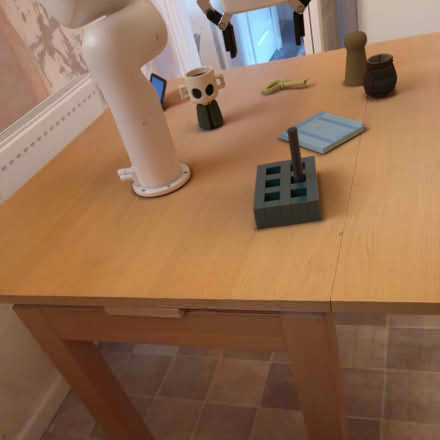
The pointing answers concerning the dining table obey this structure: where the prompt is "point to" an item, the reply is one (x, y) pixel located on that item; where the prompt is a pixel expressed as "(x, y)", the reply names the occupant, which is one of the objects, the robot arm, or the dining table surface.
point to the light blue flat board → (325, 131)
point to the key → (282, 85)
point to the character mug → (204, 94)
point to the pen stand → (286, 194)
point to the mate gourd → (379, 76)
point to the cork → (355, 58)
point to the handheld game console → (159, 86)
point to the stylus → (295, 154)
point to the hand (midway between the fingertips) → (266, 49)
